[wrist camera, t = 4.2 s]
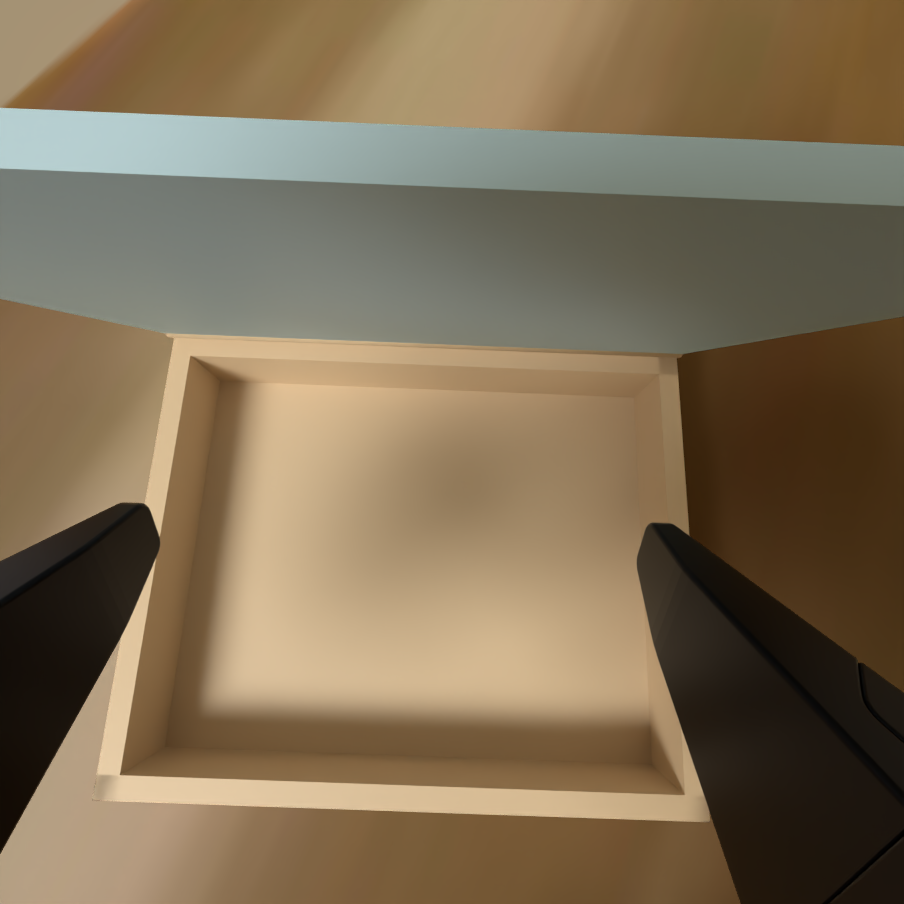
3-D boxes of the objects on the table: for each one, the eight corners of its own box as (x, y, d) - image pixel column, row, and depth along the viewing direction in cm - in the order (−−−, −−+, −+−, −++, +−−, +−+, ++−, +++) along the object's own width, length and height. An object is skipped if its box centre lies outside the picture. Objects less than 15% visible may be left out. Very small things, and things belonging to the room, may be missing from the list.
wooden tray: (668, 783, 16) (709, 821, 13) (147, 764, 16) (91, 800, 13) (646, 385, 19) (676, 357, 16) (209, 368, 19) (174, 337, 16)
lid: (1424, 243, 4) (1446, 153, 4) (-775, 151, 4) (-793, 59, 4) (675, 358, 16) (676, 339, 16) (174, 338, 16) (174, 318, 16)
